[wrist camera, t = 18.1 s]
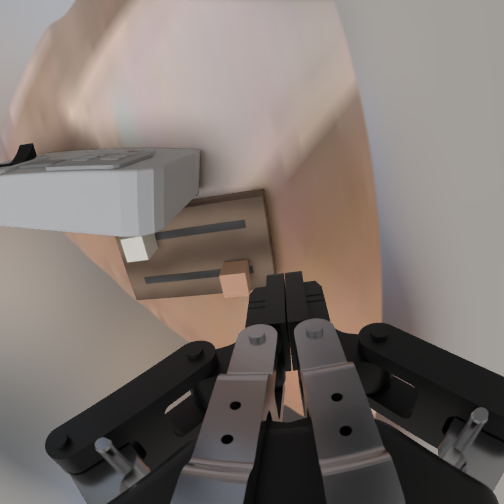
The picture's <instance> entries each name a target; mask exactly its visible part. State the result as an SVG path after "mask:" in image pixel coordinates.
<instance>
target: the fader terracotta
mask: <svg viewBox="0 0 504 504" xmlns="http://www.w3.org/2000/svg"><path fill="white" fill-rule="evenodd" d="M219 278H220V282H221V286H222V290H223V295H224V298H229V297H240V296H249V294H250V287H251V276H250V271H249V265H248V260H241V261H232V262H224V263H223V266H222V269H221V271H220V274H219Z"/></svg>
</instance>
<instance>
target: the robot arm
mask: <svg viewBox="0 0 504 504" xmlns="http://www.w3.org/2000/svg"><path fill="white" fill-rule="evenodd" d="M285 285H286V288H285ZM290 347H291V352H290ZM291 356H292V365H293V370H298V377H299V388H300V394H301V400H302V406H303V412H304V419H301V420H297V421H293V422H289V423H285V422H282V415H283V405H284V394H285V383H284V382H285V378H286V376H285V371H291ZM393 375H395V376H397V377H399V378H400V379H402V380H404V381H406V382H408V383H410V384H411V385H413V386H414V387H415V388H414V387H412V386H410V385H409V384H407V383H405V382H403V381H401V380H399V379H398V378H396V377H394V376H393ZM189 390H190V392H191V395H190V396H189V397H187V398H186V399H185V400H183V401H182V402H181V403H179V404H178V405H177V406H176V407H174V408H173V409H171V410H170V411H169V412H167V413H166V414H165V410H166V409H167V407H168V406H169V405H170V404H172V403H173V402H174V401H176V400H177V399H178V398H180V397H181V396H182V395H184V394H185V393H187V392H188V391H189ZM371 408H372V409H373V410H375V411H376V412H378V413H380V414H381V415H383V416H384V417H386V418H387V419H389V420H391V421H392V422H394V423H396V424H397V425H399V426H400V427H402V428H404V429H405V430H407V431H409V432H410V433H412V434H414V435H415V436H417V437H419V438H420V439H422V440H424V441H425V442H427V443H429V444H430V445H432V446H434V447H436V448H437V449H438V456H437V455H436V454H434V453H432V452H430V451H429V450H427V449H426V448H425V447H423V446H421V445H420V444H418V443H417V442H415V441H414V440H412V439H411V438H409V437H407V436H406V435H404V434H403V433H402V432H400V431H399V430H397V429H396V428H394V427H393V426H391V425H389V424H387V423H385V422H383V421H380V420H377V419H374V417H373V414H372V411H371ZM45 449H46V452H47V453H48V455H49V456H50V457H51V458H52V459H53V460H54V461H55V462H56V463H57V464H59V465H60V466H61V468H62V469H63V470H64V471H65V472H66V473H67V474H68V475H70V476H71V477H72V479H73V481H74V482H75V484H76V486H77V488H78V489H79V491H80V493H81V494H82V496H83V497H84V499H85V501H86V502H87V504H499V503H498V500H497V498H496V496H495V494H494V493H493V490H494V489H495V487H496V485H497V483H498V482H499V480H500V478H501V476H502V474H503V473H504V377H503V376H501V375H499V374H496V373H494V372H492V371H489V370H487V369H485V368H483V367H481V366H479V365H476V364H474V363H472V362H470V361H467V360H465V359H463V358H461V357H459V356H457V355H454V354H452V353H450V352H448V351H446V350H443V349H441V348H439V347H437V346H435V345H432V344H430V343H428V342H426V341H424V340H422V339H420V338H417V337H415V336H413V335H411V334H409V333H407V332H404V331H402V330H400V329H398V328H396V327H394V326H391V325H389V324H385V323H373V324H369V325H367V326H365V327H363V328H362V329H361V330H360V332H359V334H348V333H343V332H341V331H338V330H337V329H335V327H334V325H333V324H332V323H331V322H330V318H329V314H328V310H327V306H326V302H325V298H324V295H323V290H322V286H320V285H319V284H318V283H317V282H316V281H310V282H303V277H302V271H298V272H289V273H285V280H284V274H283V273H281V274H272V275H267V277H266V287H257V288H255V289H254V290H253V291H252V293H251V294H250V297H249V304H248V311H247V319H246V326H245V329H243V330H242V331H241V332H240V333H239V334H238V337H237V340H236V342H235V343H234V344H232V345H229V346H226V347H223V348H219V349H216V350H215V347H214V345H213V344H211V343H210V342H207V341H194V342H190V343H188V344H186V345H184V346H183V347H181V348H180V349H178V350H177V351H175V352H174V353H172V354H171V355H169V356H168V357H166V358H165V359H163V360H162V361H161V362H159V363H158V364H156V365H155V366H153V367H151V368H150V369H149V370H147V371H146V372H144V373H142V374H141V375H139V376H138V377H136V378H135V379H133V380H132V381H130V382H129V383H127V384H126V385H124V386H123V387H121V388H120V389H118V390H117V391H115V392H113V393H112V394H110V395H109V396H107V397H106V398H104V399H103V400H101V401H99V402H98V403H96V404H95V405H93V406H91V407H90V408H88V409H87V410H85V411H83V412H82V413H80V414H79V415H77V416H75V417H74V418H72V419H70V420H69V421H67V422H66V423H64V424H62V425H61V426H59V427H57V428H56V429H54V430H53V431H52V432H51V433H50V434H49V435H48V437H47V439H46V443H45Z"/></svg>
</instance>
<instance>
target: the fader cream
mask: <svg viewBox="0 0 504 504" xmlns="http://www.w3.org/2000/svg"><path fill="white" fill-rule="evenodd" d="M120 241H121V244H122V247H123V250H124V254H125V257H126V260H127V263H128V262H136V261H144V260H149V259H150V258H151V256H152V255H153V254H154V253H155V252H156V250H157V249H158V245H157V242H156V238H155V234H149V235H144V236H140V237H123V238H122V239H120Z"/></svg>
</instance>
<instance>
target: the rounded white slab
mask: <svg viewBox="0 0 504 504" xmlns="http://www.w3.org/2000/svg"><path fill="white" fill-rule="evenodd" d="M199 166H200V151H199V150H196V149H185V148H119V149H94V150H77V151H63V152H51V153H42V154H36V152H35V149H34V145H33V143H32V144H25V145H20V146H19V149H18V152H17V154H16V156H15V158H14V159H13V160H10V161H6V162H2V163H0V226H8V227H20V228H31V229H42V230H53V231H64V232H75V233H86V234H97V235H108V236H119V237H140V236H144V235H149V234H154V233H156V232H158V231H159V230H161V229H163V228H164V227H165V226H166V225H167V224H168V223H169V222H170V221H171V220H172V219H173V218H174V217H175V216H176V215H177V214H178V213H179V212H180V211H181V210H182V209H183V208H184V207H185V206H186V205H187V204H188V203H189V202H190V201H191V200H192V199H193V198H194V197H195V196H196V195H197V194H198V193H199Z"/></svg>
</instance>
